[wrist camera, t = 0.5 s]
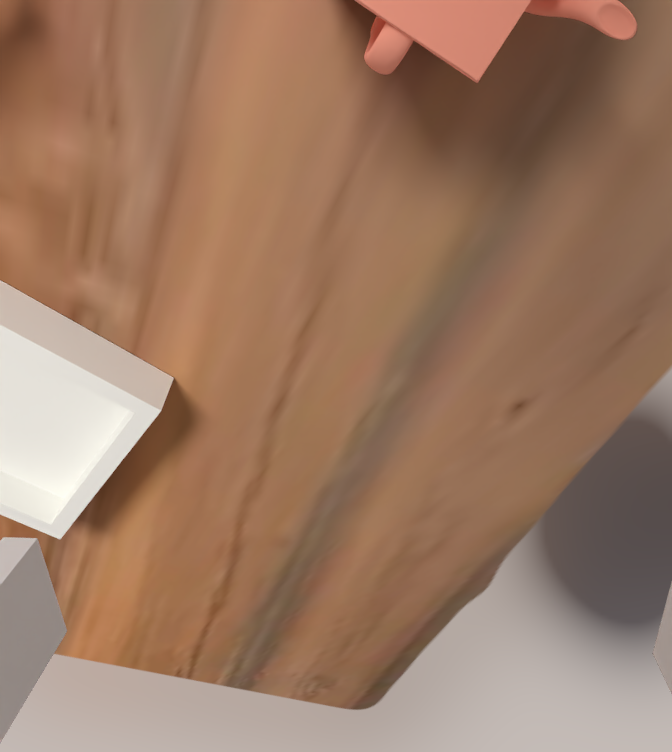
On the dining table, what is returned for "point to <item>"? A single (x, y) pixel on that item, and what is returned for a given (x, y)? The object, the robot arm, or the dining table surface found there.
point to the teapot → (474, 27)
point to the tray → (64, 412)
